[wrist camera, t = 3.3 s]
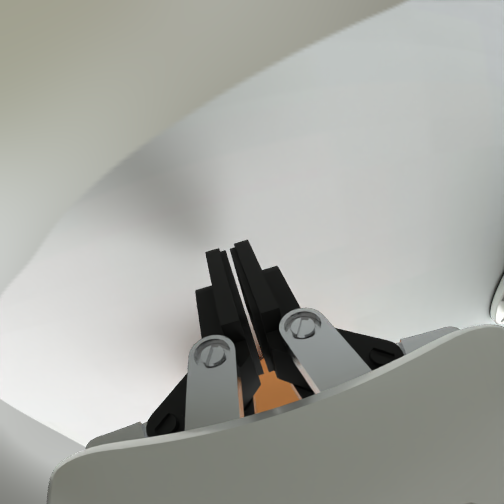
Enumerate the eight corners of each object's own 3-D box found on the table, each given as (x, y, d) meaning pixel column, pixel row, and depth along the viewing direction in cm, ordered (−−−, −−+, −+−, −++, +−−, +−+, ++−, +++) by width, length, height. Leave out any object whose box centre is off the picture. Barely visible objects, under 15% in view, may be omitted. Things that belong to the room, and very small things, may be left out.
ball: (309, 323, 18) (349, 403, 13) (313, 375, 21) (343, 441, 16) (213, 352, 17) (230, 440, 12) (236, 398, 20) (254, 469, 15)
